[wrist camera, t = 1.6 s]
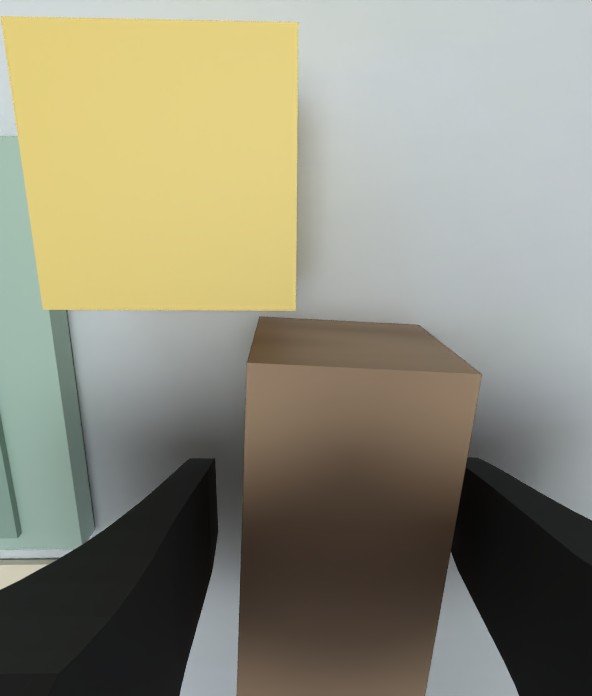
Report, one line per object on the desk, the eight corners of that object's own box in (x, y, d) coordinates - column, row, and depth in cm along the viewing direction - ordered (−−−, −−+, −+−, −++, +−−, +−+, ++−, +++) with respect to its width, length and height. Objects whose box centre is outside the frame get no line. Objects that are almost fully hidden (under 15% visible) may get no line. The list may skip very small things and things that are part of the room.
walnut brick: (382, 581, 14) (420, 722, 10) (250, 577, 14) (236, 718, 10) (416, 323, 12) (482, 374, 8) (259, 315, 11) (246, 362, 8)
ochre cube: (291, 279, 11) (296, 311, 7) (127, 278, 11) (42, 309, 7) (292, 98, 10) (298, 22, 6) (110, 95, 10) (0, 15, 6)
